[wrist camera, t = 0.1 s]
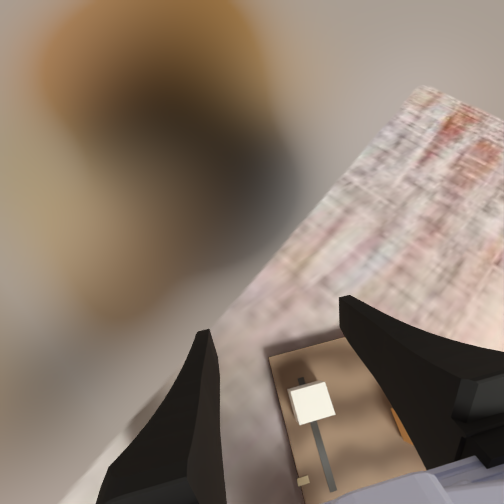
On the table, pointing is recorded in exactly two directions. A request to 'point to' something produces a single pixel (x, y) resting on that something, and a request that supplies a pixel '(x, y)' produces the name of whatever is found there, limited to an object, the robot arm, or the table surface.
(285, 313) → the table surface
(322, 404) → the white fader
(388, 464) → the console
